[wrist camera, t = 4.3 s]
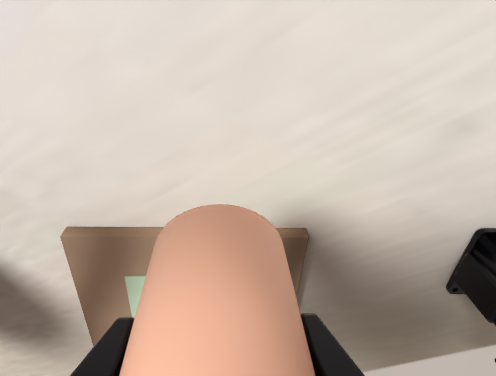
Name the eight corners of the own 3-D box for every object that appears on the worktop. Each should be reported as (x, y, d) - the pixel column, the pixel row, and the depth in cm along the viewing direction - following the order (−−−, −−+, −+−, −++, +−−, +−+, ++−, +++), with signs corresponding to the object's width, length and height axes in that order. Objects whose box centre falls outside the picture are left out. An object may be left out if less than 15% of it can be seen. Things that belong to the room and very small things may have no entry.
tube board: (305, 228, 23) (329, 297, 17) (279, 360, 31) (291, 434, 26) (66, 226, 21) (17, 301, 16) (106, 366, 29) (82, 445, 24)
